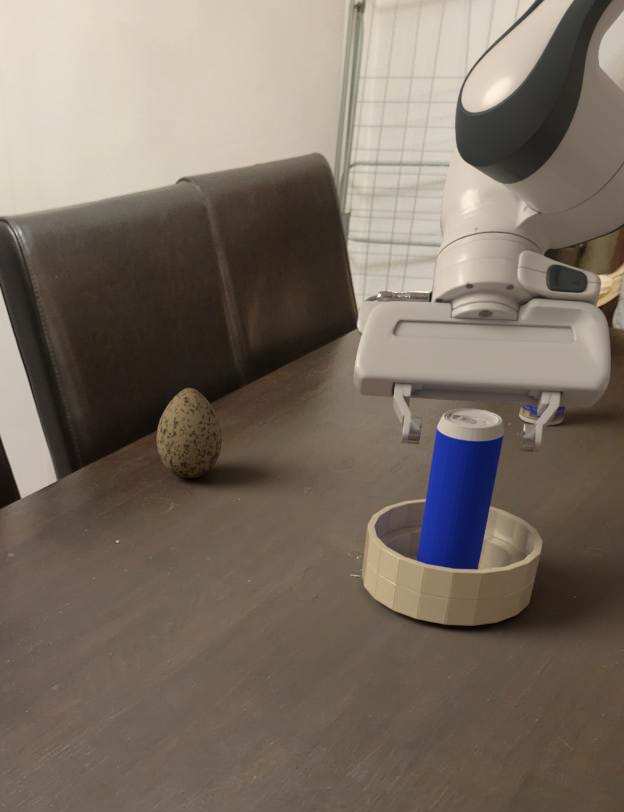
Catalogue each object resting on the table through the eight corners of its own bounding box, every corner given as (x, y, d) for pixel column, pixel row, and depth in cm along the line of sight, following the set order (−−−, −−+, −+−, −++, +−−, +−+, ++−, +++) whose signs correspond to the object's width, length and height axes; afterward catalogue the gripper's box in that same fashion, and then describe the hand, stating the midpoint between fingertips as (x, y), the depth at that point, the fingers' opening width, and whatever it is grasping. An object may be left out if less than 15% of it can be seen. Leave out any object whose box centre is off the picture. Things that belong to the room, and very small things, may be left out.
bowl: (509, 554, 90) (520, 500, 87) (547, 635, 78) (562, 575, 75) (355, 550, 91) (361, 496, 88) (369, 628, 79) (377, 569, 76)
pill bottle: (510, 419, 120) (524, 348, 116) (532, 409, 123) (546, 339, 119) (549, 429, 117) (565, 356, 112) (571, 419, 120) (587, 348, 115)
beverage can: (482, 578, 85) (514, 414, 76) (463, 603, 81) (495, 433, 73) (426, 564, 87) (451, 403, 79) (404, 587, 83) (429, 421, 75)
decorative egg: (232, 481, 105) (235, 392, 100) (174, 493, 103) (173, 403, 97) (202, 460, 111) (204, 374, 105) (146, 470, 108) (145, 383, 103)
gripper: (361, 269, 81) (341, 419, 78) (622, 276, 76) (611, 437, 74) (360, 310, 87) (341, 451, 84) (601, 320, 82) (590, 469, 80)
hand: (469, 445), depth 79 cm, fingers open, 8 cm apart
